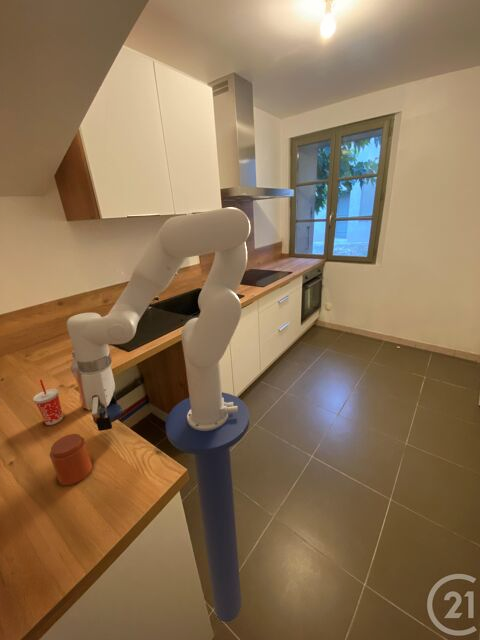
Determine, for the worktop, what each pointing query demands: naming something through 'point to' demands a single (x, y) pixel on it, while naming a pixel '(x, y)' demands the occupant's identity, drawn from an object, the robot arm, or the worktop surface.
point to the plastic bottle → (78, 380)
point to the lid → (112, 412)
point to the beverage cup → (49, 405)
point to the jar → (70, 459)
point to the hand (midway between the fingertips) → (109, 419)
